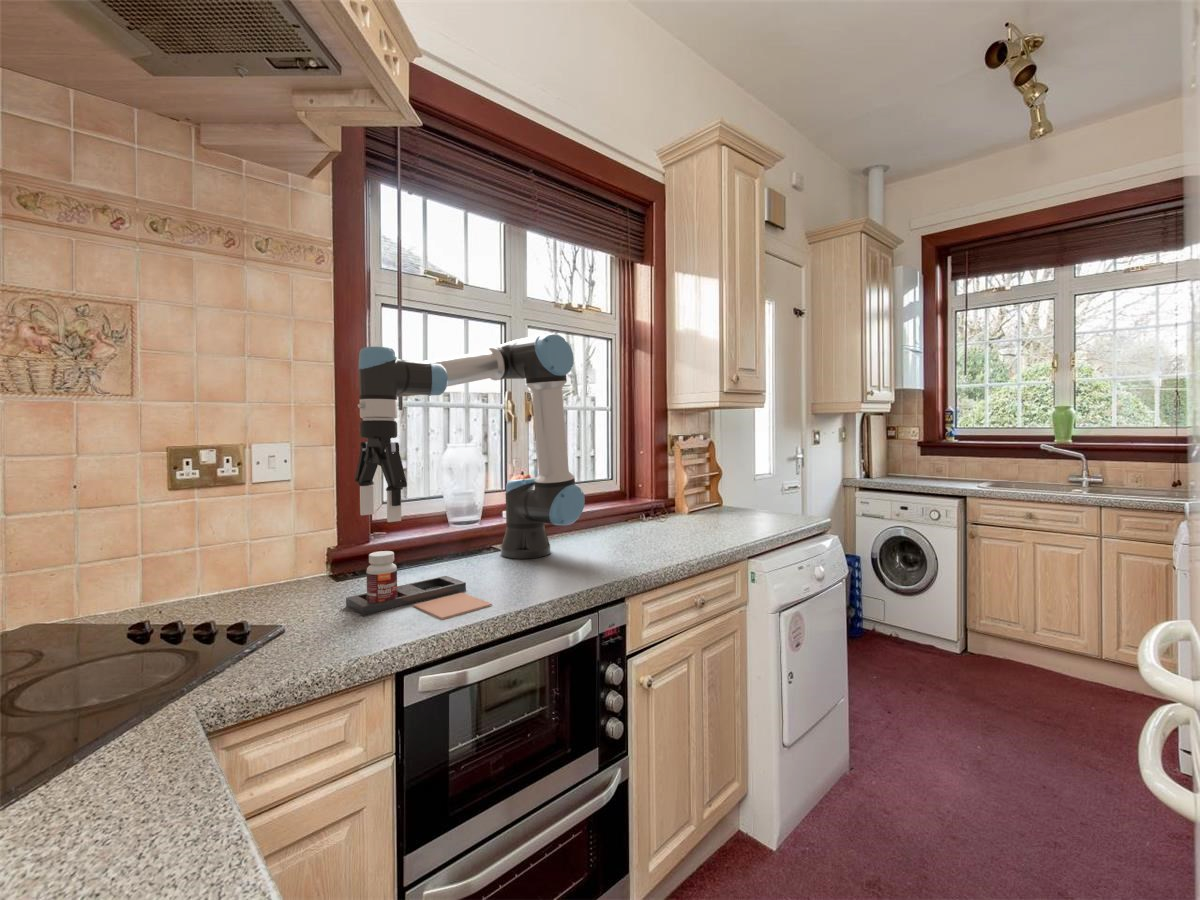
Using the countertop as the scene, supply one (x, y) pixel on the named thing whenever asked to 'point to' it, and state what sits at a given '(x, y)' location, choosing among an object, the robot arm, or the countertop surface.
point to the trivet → (451, 605)
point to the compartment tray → (407, 595)
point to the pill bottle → (381, 577)
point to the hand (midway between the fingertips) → (380, 518)
